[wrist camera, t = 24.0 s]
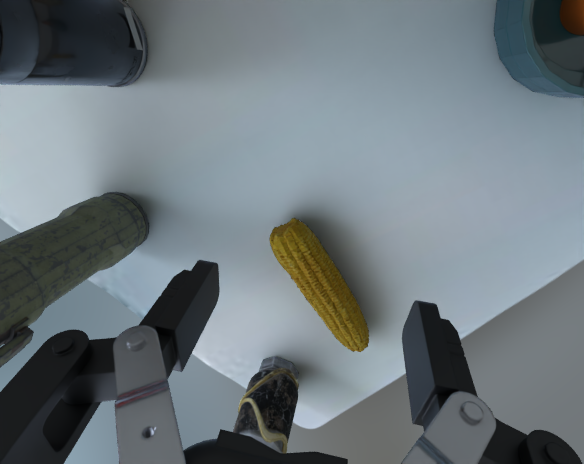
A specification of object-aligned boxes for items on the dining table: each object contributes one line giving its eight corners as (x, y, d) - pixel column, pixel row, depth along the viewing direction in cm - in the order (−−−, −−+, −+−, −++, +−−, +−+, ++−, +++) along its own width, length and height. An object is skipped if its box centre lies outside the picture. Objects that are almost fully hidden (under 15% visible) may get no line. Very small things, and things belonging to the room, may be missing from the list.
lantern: (293, 397, 56) (249, 606, 33) (248, 381, 56) (175, 576, 34) (309, 362, 52) (271, 571, 30) (261, 344, 53) (187, 537, 30)
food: (269, 227, 44) (256, 246, 39) (304, 207, 42) (296, 224, 37) (349, 341, 49) (348, 372, 44) (384, 328, 47) (387, 358, 42)
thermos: (91, 173, 46) (-499, 361, 14) (166, 217, 46) (-243, 491, 15) (78, 223, 50) (-410, 458, 18) (147, 262, 50) (-209, 558, 19)
